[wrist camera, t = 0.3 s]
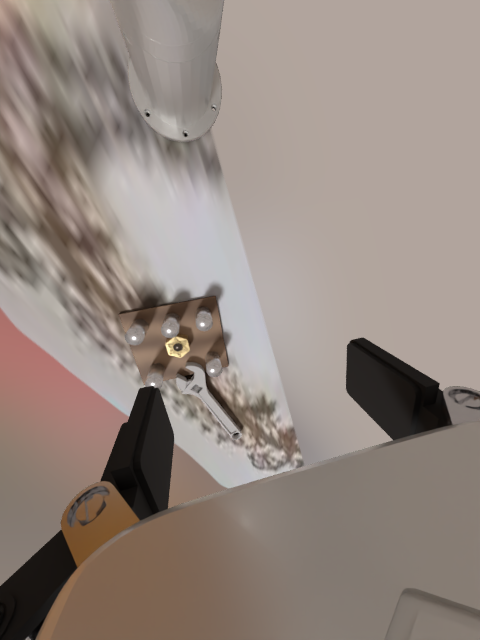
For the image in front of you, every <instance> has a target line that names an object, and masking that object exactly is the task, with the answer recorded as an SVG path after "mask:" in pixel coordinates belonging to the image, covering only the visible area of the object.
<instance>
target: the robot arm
mask: <svg viewBox="0 0 480 640" xmlns="http://www.w3.org/2000/svg"><path fill="white" fill-rule="evenodd" d="M110 3H111V5H112V8H113V11H114V14H115V17H116V19H117V22H118V25H119V28H120V30H121V33H122V36H123V39H124V41H125V44H126V47H127V50H128V53H129V62H128V80H129V86H130V91H131V94H132V97H133V100H134V102H135V104H136V107H137V109H138V110H139V112H140V114H141V115H142V117H143V118H144V120H145V121H146V122H147V123H148V125H149V126H150V127H151V128H152V129H153V130H155V131H156V132H157V133H158V134H160V135H162V136H163V137H165V138H167V139H170V140H172V141H177V142H190V141H193V140H197V139H198V138H200V137H202V136H204V135H205V134H206V133H207V132H208V131H209V130H210V128H211V127H212V126H213V124H214V123H215V120H216V118H217V116H218V113H219V109H220V104H221V97H222V86H221V80H220V74H219V70H218V67H217V64H216V55H217V48H218V40H219V34H220V26H221V18H222V11H223V4H224V0H110ZM212 108H214V109H215V111H213V110H212ZM147 114H150V116H149V117H147ZM184 134H187V137H185V136H184ZM346 389H347V392H348V394H349V395H350V396H351V397H352V398H353V399H354V400H355V401H356V402H357V403H358V404H359V405H360V407H361V408H362V409H363V410H364V411H365V412H367V414H368V415H369V416H370V417H371V418H372V419H373V420H374V421H375V422H376V423H377V424H378V425H379V426H380V427H381V428H382V429H383V430H384V431H385V432H386V433H387V434H388V435H389V436H390V437H391V438H392V439H393V441H390V442H386V443H383V444H379V445H376V446H372V447H369V448H365V449H362V450H358V451H355V452H352V453H348V454H345V455H342V456H338V457H334V458H331V459H328V460H324V461H321V462H317V463H314V464H310V465H307V466H304V467H300V468H297V469H293V470H290V471H287V472H283V473H280V474H277V475H273V476H270V477H267V478H263V479H260V480H257V481H253V482H250V483H247V484H243V485H240V486H237V487H233V488H230V489H227V490H223V491H220V492H217V493H214V494H211V495H208V496H205V497H202V498H198V499H195V500H192V501H189V502H186V503H182V504H180V505H177V506H174V507H172V508H169V509H168V499H169V489H170V478H171V468H172V457H173V446H174V433H173V430H172V427H171V424H170V421H169V418H168V414H167V411H166V408H165V405H164V402H163V399H162V396H161V393H160V390H159V388H154V386H148V387H144V388H140V389H139V391H138V394H137V397H136V400H135V402H134V405H133V408H132V411H131V414H130V417H129V420H128V422H127V423H124V424H122V426H121V428H120V431H119V433H118V436H117V439H116V441H115V444H114V447H113V449H112V452H111V454H110V457H109V460H108V462H107V465H106V468H105V470H104V473H103V476H102V478H101V481H100V482H96V483H94V484H92V485H90V486H88V487H86V488H85V489H83V490H82V491H81V492H79V493H78V494H77V495H76V496H75V497H74V498H73V499H72V501H71V502H70V503H69V505H68V506H67V507H66V509H65V511H64V513H63V515H62V519H61V530H60V531H59V532H58V533H57V534H56V535H55V536H54V537H53V538H52V539H51V540H50V541H49V542H47V543H46V544H45V545H44V546H43V547H42V548H41V549H40V550H39V551H38V552H37V553H36V554H34V555H33V556H32V557H31V558H30V559H29V560H28V561H27V562H26V563H25V564H24V565H23V566H22V567H21V568H20V569H18V570H17V571H16V572H15V573H14V574H13V575H12V576H11V577H10V578H9V579H8V580H7V581H6V582H4V583H3V584H2V585H1V586H0V640H480V391H477V390H474V389H471V388H467V387H460V386H452V387H448V388H445V390H444V391H441V390H440V389H439V383H438V382H436V381H435V380H433V379H431V378H430V377H428V376H426V375H425V374H423V373H421V372H419V371H418V370H416V369H415V368H413V367H411V366H410V365H408V364H406V363H404V362H403V361H401V360H400V359H398V358H396V357H395V356H393V355H391V354H390V353H388V352H386V351H385V350H383V349H381V348H380V347H378V346H376V345H375V344H373V343H371V342H370V341H368V340H366V339H365V338H358V339H354V340H351V341H350V343H349V344H348V345H347V371H346Z"/></svg>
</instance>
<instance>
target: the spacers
mask: <svg viewBox="0 0 480 640" xmlns="http://www.w3.org/2000/svg"><path fill="white" fill-rule="evenodd" d="M195 317H196V327H197V328H198V329H199V330H201V331H208V330H209V329H211V328H212V326H213V320H212V316H211V312H210V310H209V309H208V308H207V307H199V308H198V309H197V310H196V313H195ZM179 327H180V317H179V315H178V314H176V313H168V314H167V315H166V316H165V317H164V321H163V324H162V327H161V333H162V334H163V336H165V337H167V338H174V337H176V336H177V335H178V333H179ZM148 328H149V325H148V323H147V322H146V321H145V320H143V319H136V320H134V321H133V323H132V324H131V326H130V327H129V329H128V331H127V332H126V334H125V340H126V341H127V342H128V343H129V344H131V345H139V344H141V343H142V342H143V340H144V338H145V335H146V333H147V331H148ZM205 360H206V370H207V374H208V375H209V376H211V377H217V376H219V375H220V374H221V373H222V366H221V361H220V356H219V354H218V353H217V352H215V351H211V352H208V353H207V354H206V356H205ZM164 372H165V367H164V366H163V365H162V364H160V363H155V364H153V365H151V367H150V369H149V372H148V376H147V379H146V382H145V386H146V387H148V386H154V388H159V389H160V388H161V387H162V383H163V378H164Z"/></svg>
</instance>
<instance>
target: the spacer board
mask: <svg viewBox="0 0 480 640" xmlns="http://www.w3.org/2000/svg"><path fill="white" fill-rule="evenodd" d="M199 307H207V308H208V309H209V310H210V312H211V316H212V320H213V326H212V328H211V329H209V330H208V331H201V330H199V329H198V328H197V327H196V317H195V313H196V310H197V309H198V308H199ZM168 313H176V314H178V315H179V317H180V327H179V333H181V334H185V335H188V339H189V343H190V351H189V352H187V353H186V354H185V355H184V356H183V357H181V358H179V357H175V356H171V355H168V351H167V348H166V345H165V344H166V340H167V339H168V338H167V337H165V336H163V334H162V333H161V327H162V324H163V321H164V317H165V316H166V315H167V314H168ZM119 317H120V320H121V323H122V325H123V328H124V331H125V334H126V332H127V331H128V329H129V327H130V326H131V324H132V323H133V321H134V320H136V319H143V320H145V321H146V322H147V323H148V325H149V328H148V331H147V333H146V335H145V338H144V340H143V342H142V343H141V344H139V345H131V344H129V345H130V347H131V350H132V353H133V356H134V358H135V361H136V364H137V367H138V369H139V372H140V375H141V378H142V380H143V383H144V385H145V382H146V379H147V376H148V372H149V369H150V367H151V365H153V364H155V363H160V364H162V365H163V366H164V367H165V372H164V378H163V381H165V380H169V379H174V378H176V375H177V373H178V374H180V375H182V376H187V375H191V374H194V372H193V371H191V370H189V369H187V368H185V364H186V363H187V362H195V363H198V364H200V365H201V366H202V367H203V368H204V371H207V370H206V360H205V356H206V354H207V353H208V352H211V351H215V352H217V353H218V354H219V356H220V361H221V366H222V367H227V366H228V361H227V355H226V350H225V345H224V339H223V334H222V328H221V323H220V318H219V312H218V307H217V301H216V296H212V297H206V298H201V299H196V300H190V301H185V302H179V303H174V304H169V305H163V306H158V307H153V308H147V309H142V310H137V311H131V312H126V313H121V314H119Z"/></svg>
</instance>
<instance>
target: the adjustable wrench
mask: <svg viewBox="0 0 480 640" xmlns="http://www.w3.org/2000/svg"><path fill="white" fill-rule="evenodd" d="M185 368H187V369H189V370H191V371H193V372H194V375H193V376H192V378H191V379H189V380H187V378H186V377H184V376H182V375H180V374H178V373H177V375H176V383H177V386H178V387H179V389H180V390H181V391H182V394H192V395H195V396H197V397H199V398H200V399H201V400H202V402H203V403H204V404H205V405H206V407H207V408H208V409H209V410H210V412H211V413H212V414H213V415H214V417H215V418H216V419H217V420H218V422H219V423H220V424H221V425H222V427H223V428H224V429H225V431H226V432H227V433H228V434H229V436H230V437H231V438H232V439H233V440H238V439H240V438H241V436H242V434H241V430H240V428H239V427H238V426H237V425H236V423H235V422H234V421H233V420H232V419H231V417H230V416H229V415H228V414H227V412H226V411H225V410H224V409H223V408H222V406H221V405H220V404H219V403H218V401H217V400H216V399H215V398H214V396H213V395H212V394H211V393H210V392H209V390H208V389H207V386H206V381H205V371H204V368H203V367H202V366H201V365H200V364H198V363H195V362H187V363H186V364H185ZM234 433H238V434H236V435H233V434H234Z"/></svg>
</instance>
